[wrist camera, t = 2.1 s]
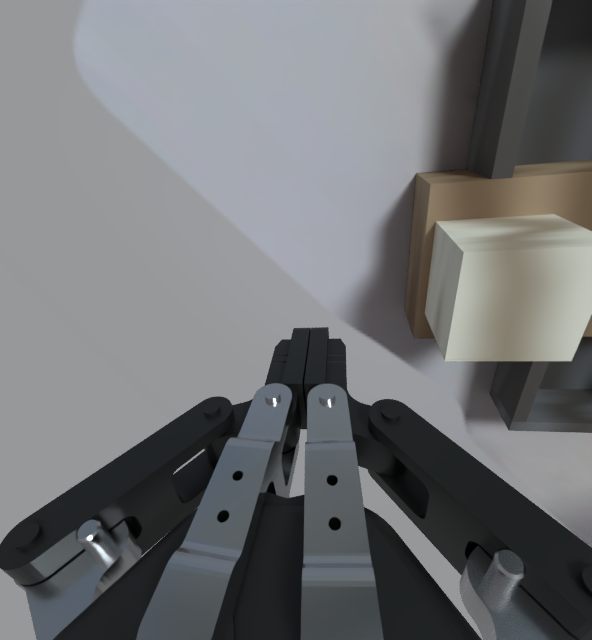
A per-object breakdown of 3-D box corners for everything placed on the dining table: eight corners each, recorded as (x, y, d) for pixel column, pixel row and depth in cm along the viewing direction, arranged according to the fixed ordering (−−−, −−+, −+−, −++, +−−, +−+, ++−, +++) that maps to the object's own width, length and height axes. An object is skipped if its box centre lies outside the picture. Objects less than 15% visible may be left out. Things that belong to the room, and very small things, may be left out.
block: (554, 213, 17) (621, 244, 13) (524, 311, 21) (571, 361, 16) (435, 221, 18) (463, 252, 14) (424, 313, 21) (444, 361, 17)
